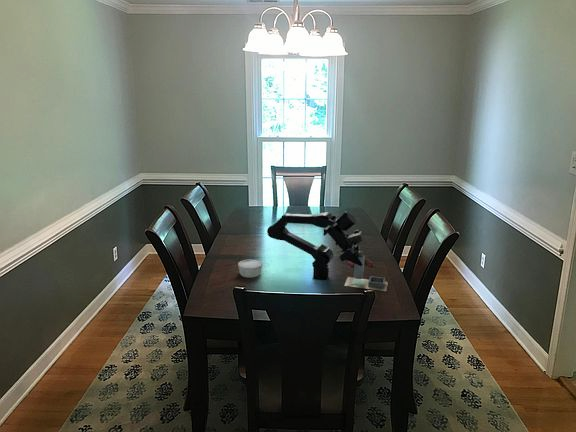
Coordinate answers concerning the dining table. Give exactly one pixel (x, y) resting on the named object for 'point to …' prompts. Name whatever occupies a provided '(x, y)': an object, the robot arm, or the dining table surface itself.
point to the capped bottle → (359, 269)
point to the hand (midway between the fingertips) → (362, 263)
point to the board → (350, 279)
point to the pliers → (364, 261)
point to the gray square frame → (376, 282)
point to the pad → (358, 282)
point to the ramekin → (250, 268)
